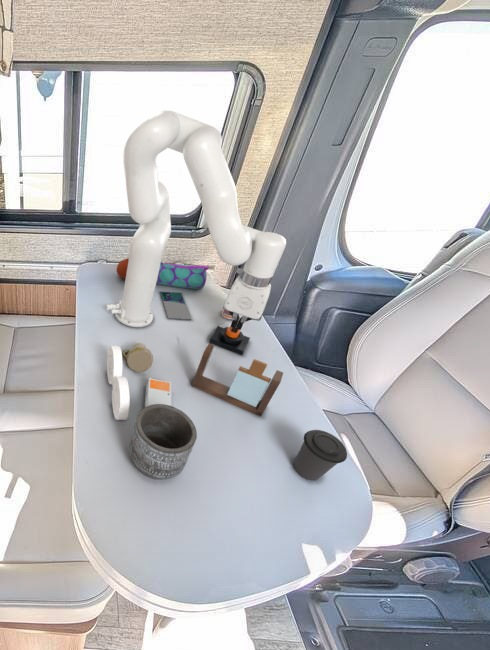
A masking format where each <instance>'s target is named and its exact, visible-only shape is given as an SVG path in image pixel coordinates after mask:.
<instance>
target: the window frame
mask: <svg viewBox="0 0 490 650" xmlns="http://www.w3.org/2000/svg"><path fill="white" fill-rule="evenodd" d="M214 348H215V345H214V344H211V343H208V344H207V346H206V347H205V348H204V351H203V353H202V356H201V358H200V361H199V364H198V366H197V369H196V371H195V375H194V376H193V377H194V378H193V380H192V382H191V387H193V388H195V389H198V390H199V391H203V392H204V393H207V394H209V395H211V396H213V397H216V398H218V399H221V400H222V401H225V402H227V403H228V404H231V405H233V406H236V407H238V408H240V409H242V410H245V411H247V412H249V413H251V414H254V415H256V416H258V417H262V416H263V414H264V412H265V411H266V409H267V407H268V405H269V403H270V402H271V400H272V398H273V397H274V395H275V393H276V391H277V390H278V388H279V386H280V384H281V382H282V379H283V376H284V372H283V371H281V370H276V371H275V373H274V374H273V376H272V378H271V377H269V378H270V379H271V380H270V382H269V384H268V386H267V388H266V390H265V391H264V393H263V395H262V397H261V399H260V401H259V402H258V404H257V406H256V407H254V406H252V405H249V404H247V403H245V402H242V401H240V400H238V399H236V398H233V397H231V396H229V395H227V394H228V391H229V389H230V387H231V386H230V387H229V386H227V385H225V384H222V383H221V382H218V381H215V380H213V379H211V378H209V377H207V376H204V374H205V372H206V369H207V366H208V364H209V361H210V358H211V356H212V353H213V351H214ZM264 376H265V377H267V376H266V375H264Z"/></svg>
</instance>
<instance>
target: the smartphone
mask: <svg viewBox="0 0 490 650" xmlns="http://www.w3.org/2000/svg"><path fill="white" fill-rule="evenodd" d="M160 297H161V300H162V303H163V306H164V310H165V313H166V316H167V319H171V320H173V319H174V320H189V321H191V320H192V318H191V315H190V313H189V310H188V307H187V304H186V303H185V302H186V301H185V300H184V297H183V294H182V292H173V291H172V292H171V291H160Z"/></svg>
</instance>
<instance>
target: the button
mask: <svg viewBox="0 0 490 650" xmlns="http://www.w3.org/2000/svg"><path fill="white" fill-rule="evenodd" d="M227 327H228V329H227V331H226V335H228V336H229V337H232V338H237V337H238V336H239V333H240V332H241V330H238V331H237V333H235V332H232V331H231V330H232V327H230V326H227ZM234 331H235V330H234Z"/></svg>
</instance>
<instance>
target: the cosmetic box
mask: <svg viewBox="0 0 490 650" xmlns="http://www.w3.org/2000/svg"><path fill="white" fill-rule="evenodd" d="M172 384H173V383H172V381H167V380H161V379H156V378H152V377H148V380H147V384H146V387H145V398H144V408H145V407H147V406H149V405H154V404H165V405H169V406H172V402H173V401H172V398H173V397H172V391H173V390H172V387H173V385H172Z"/></svg>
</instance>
